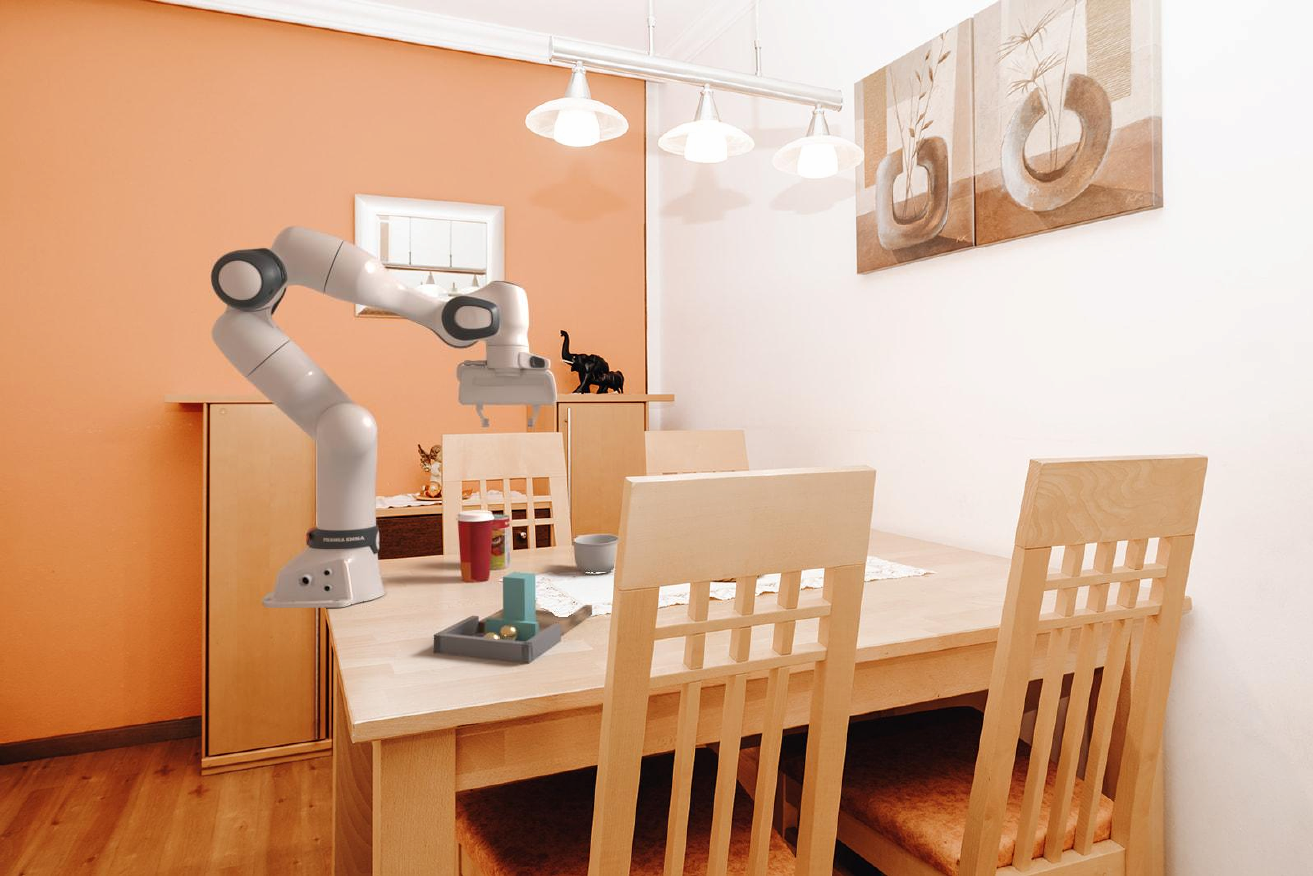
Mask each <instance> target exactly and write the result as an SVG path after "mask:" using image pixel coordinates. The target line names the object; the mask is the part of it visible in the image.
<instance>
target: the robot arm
mask: <svg viewBox="0 0 1313 876" xmlns="http://www.w3.org/2000/svg"><path fill="white" fill-rule="evenodd" d="M210 273H211V274H210V280H211V281H210V284H211V286H212V289H213V292H214V293H215V294H216V296H217V297H218V299H220V300H221V301H222V302H223V303H224V304H225V305H226V309H225V310H224V312H223V313H222V314H220V316H219V317H218V318H217V319H216V320H215V322H214V324H213V326H212V328H211V338H212V341H213V343H214V344H215V345H216V346H217V348H218V350H219V351H220V352H221V353H222V354H223V356H224V357H225V358H226V359H227V360H228V362H230V364H231V365H232V366H233V367H234V368H235V369H236V370H237V371H238V373H240V374H241V375H242V376H243V377H244V378H245V379H246V380H247V381H248V382H249V383H250V384H252V385H253V387H255V388H256V389H257V390H258V391H259V392H260V393H262V394H263V396H264V397H265V398H267V399H268V400H269V401H270V402H271V403H272V404H274V406H275V407H277V409H279V411H280V412H282V413H283V414H284V415H286V416H287V417H288V418H289V419H290V420H291V421H292V422H293V423H294V424H295V425H296V426H298V427H299V428H300V429H301V430H302V431H303V432H305V433H306V435H307V436H309V438H310V439H312V440H313V441H314V442H315V443H316V526H311V527H309V529H308V530H307V532H306V534H305V541H306V542H305V543H306V546H307V547H305V548H304V549H303V550H301V551H300V552H299V553H298V554H297V555H295V556H294V557H293V558H291V559H290V560H289V561H288V562H287V563H285V564H284V565H283V566H281V568H280V570H279V571H278V573H277V577H276V579H275V586H274V589H273V590H271V591H269V592H268V593H266V594H265V595H264V596H263V598H262V600H261V601H262V602H261V603H262V604H261V605H262V606H263V607H265V608H268V609H269V608H272V609H273V608H274V609H275V608H276V609H277V608H280V609H281V608H282V609H284V608H285V609H286V608H287V609H288V608H289V609H292V608H293V609H294V608H298V609H299V608H303V609H304V608H305V609H306V608H308V609H309V608H311V609H312V608H317V609H318V608H344V607H345V608H346V607H349V606H351V604H352V605H355V604H359V603H362V602H363V601H364V602H367V601H372V600H375V599H378V598H380V597H382V596H384V595H385V594H386V590H385V586H384V583H383V579H382V576H381V569H380V564H379V555H378V553H379V550H380V531H379V525H378V524H377V501H376V500H377V499H376V497H377V494H376V490H377V486H376V485H377V467H378V466H377V465H378V444H379V443H378V441H379V440H378V438H379V437H378V435H379V434H378V432H379V430H378V428H379V427H378V424H377V422H376V419H375V417H374V416H373V414H372V413H371V412H370V411H369V410H368V409H366V408H365V407H363V406H362V405H358V404H357V403H356V402H355V401H354V400H353V399H352V398H351V397H350V396H349V395H348V394H347V393H346V392H345V391H344V390H343V389H342V388H341V387H340V385H338V384H337V383H336V382H335V381H334V380H333V379H332V378H331V377H330V376H329V375H328V374H327V373H326V372H325V370H324V369H322V367H320V365H318V364H317V363H316V362H315V361H314V360H313V359H312V358H311V357H310V356H309V355H308V354H307V353H306V352H305V351H304V350H303V349H302V348H301V347H300V346H299V345H297V344H296V343H295V342H294V340H292V339H291V337H289V335H288V334H286V333H285V332H284V331H283V330H282V329H281V328H280V327H279V326H278V324H277V323H276V322H275V321H274V319H273V317H272V316H273V315H274V314H275V311H276V310H277V308H278V306H279V304H280V303H281V301H282V300H283V298H284V297H285V294H286V292H287V288H288V287H290V286H291V287H292V286H301V287H306V288H308V289H311V290H314V291H316V292H319V293H321V294H323V295H327V296H328V297H330V298H333V299H336V300H337V299H338V300H340V301H344V302H348V303H352V304H356V305H359V306H361V305H362V306H365V307H370V308H374V309H379V310H383V311H387V312H390V313H392V314H395V315H397V316H399V317H402V318H404V319H407V320H409V321H411V322H414V323H416V324H418V325H420V326H421V325H422V326H423V327H425V328H427V329H428V330H430V331H432V332H433V333H434V334H435V335H436V336H437V337H438V338H439V339H440V341H442V342H443V343H444V344H446V345H448V346H449V347H452V348H454V349H460V350H461V349H462V350H463V349H467V348H468V349H469V348H470V347H473V346H474V345H476V344H478V342H480V341H484V343H485V354H486V355H485V357H486V358H485V359H486V360H485V359H483V360H481V359H479V360H471V359H469V360H468V359H467V360H464V361H461V362H460V363H458V365H457V366H456V378H457V380H458V381H459V385H458V386H459V387H458V397H457V398H458V402H459V403H460V404H461V406H475V411H476V413H477V415H478V416H479V418H480V419H481V428H489V427H490V426H489V425H490V424H489V422H490V419H489V418H485V415H484V414H483V413H482V411H483V410H484V406H493V405H494V406H532V410H533V411H534V413H533V415H532V416H531V418H527V419H526V420H527V421H526V422H527V423H526V425H527V428H535V427H536V418H537V417H538V415H539V414H540V411H541V406H555V404H556V403H557V402H558V393H557V391H558V390H557V383H556V379H555V376H554V374H553V372H552V371H551V370H549V369H551V366H552V365H551V360H550V359H549V358H546V357H543V356H540V355H538V354H535V353H531V352H530V344H529V343H530V342H529V341H528V340H529V339H528V331H529V328H530V312H529V311H530V310H529V302H528V296H527V293H526V290H525V289H524V288H523V287H521V286H520V285H518V284H516V283H513V282H511V281H510V282H509V281H504V280H501V281H500V280H493V281H490V282H489V283H488V284H486V285H485V286H483V287H481V288H479V289H476V290H475V291H473V292H469V293H465V294H462V295H461V294H460V295H457V296H455V297H452V298H450V299H449V300H448V301H445V300H439V299H437V298H435V297H433V296H431V295H428V294H425V293H423V292H421V291H418V290H416V289H414V288H412V287H409V286H408V285H406V284H403V283H402V282H400V281H399V280H398V279H397V278H395V277H394V276H393V275H392V273H390V272H389V271H388V269H387V268H386V267H385V266H384V265H383V263H382V262H381V260H379V258H377V257H376V256H374V255H373V254H372V253H370V252H368V251H366V250H365V249H364V248H361V247H359V246H357V245H356V244H354V243H351V242H349V241H347V240H344V239H342V238H339V237H337V236H335V235H331V234H329V233H325V232H323V231H319V230H316V229H311V228H307V227H303V226H298V225H292V226H288V227H284V229H282V230H281V231H280V232H279V233H278V234H277V235H276V237H275V239H274V241H273V243H272V246H271V247H270V248H266V247H259V248H251V249H250V248H246V249H237V250H232V251H229V252H227V253H225V254H224V255H222V256H220V257H219V258H218V259H217V260H216V261H215V263H214V265H213V267H212V269H211V272H210ZM364 602H363V603H364Z"/></svg>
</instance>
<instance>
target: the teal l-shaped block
mask: <svg viewBox="0 0 1313 876" xmlns="http://www.w3.org/2000/svg"><path fill="white" fill-rule="evenodd" d="M536 603H537V602H536V573H532V572H519V571H518V572H515V571H514V572H511V573H509V574H507V575H504V576H503V577H502V609H503V619H502V618H492V617H489V618H488V619H486V634H487V633H490V632H493V633H496V634H498V635H499V632H500V630H501V628H502V627H504V626H506V625H512V626H514V627H515V628H516V629H517V632H518V636H517V639H516V640H520V641H527V640H529V639H531V638H532V637H534V636H535V635H537V634H538V633H539V622H536V610H537V609H536V607H537V606H536Z"/></svg>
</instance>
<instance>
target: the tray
mask: <svg viewBox="0 0 1313 876" xmlns="http://www.w3.org/2000/svg"><path fill="white" fill-rule="evenodd" d="M479 621H480V620H479V615H471V616H468V617H467V618H465V619H463V620H461V621H458V622H457V623H454V624H453V625H451V626H448V627H447V628H444V629H443V630H441V631H438V632H437V633H435V634H433V653H434V654H442V655H449V656H450V655H451V656H459V657H466V658H467V657H468V658H475V659H477V658H478V659H485V660H494V661H503V662H510V663H521V664H528V665H529V664H530V663H533V662H534V661H535V660H536V659H538V658H539V657H540V656H542V655H544V654H545V653H547V652H548V651H549V650H551V649H552V648H553V647H555V646H556V645H557V644H560V643H561V641H562V636H561V624H555V623H554V624H552V625H551V626H549V627H548V628H546V629H545V630H543V631H542V632H540V633H538V634H537V635H535V636H534V637H532V638H531V639H529V640H527V641H520V640H515V641H513V640H503V639H494V638H484V635H486V634H484V633H479Z"/></svg>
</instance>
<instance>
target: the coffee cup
mask: <svg viewBox="0 0 1313 876" xmlns="http://www.w3.org/2000/svg"><path fill="white" fill-rule="evenodd" d="M493 515H494V514H493V512H492V511H490V510H483V509H476V510H475V509H473V510H462V511H459V512H458V514H457V517H456V518H455V520H456V521H457V529H458V542H459V543H458V545H459V559H460V561H459V563H460V572H461V574H460V575H461V581H462V582H465V583H482V582H487V581H489V580H490V575H491V570H490V563H491V545H492V527H493V519H494V517H493Z"/></svg>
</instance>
